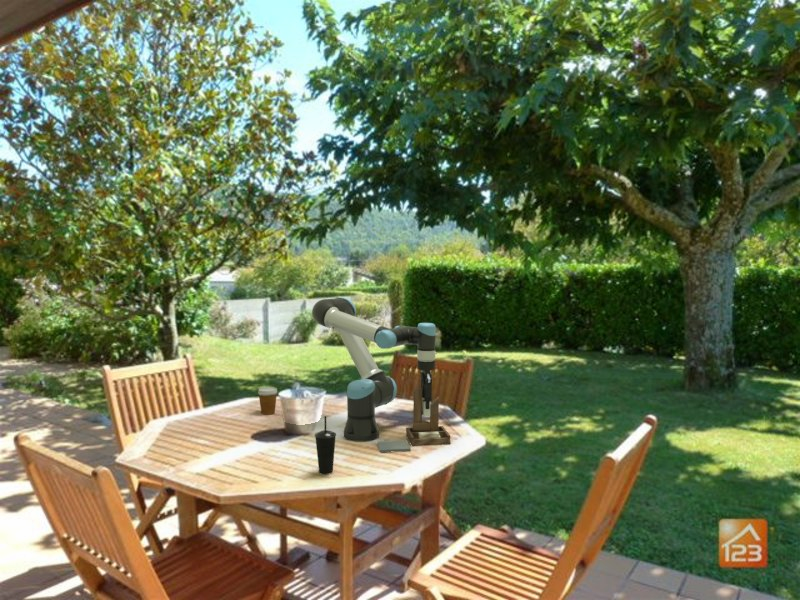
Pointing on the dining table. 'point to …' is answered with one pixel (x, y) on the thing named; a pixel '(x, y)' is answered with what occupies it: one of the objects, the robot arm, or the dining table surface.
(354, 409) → the robot arm
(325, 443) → the drinking cup
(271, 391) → the disposable coffee cup
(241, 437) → the dining table surface
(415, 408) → the wooden block assembly
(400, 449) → the slate tile
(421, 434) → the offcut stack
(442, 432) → the walnut rack
